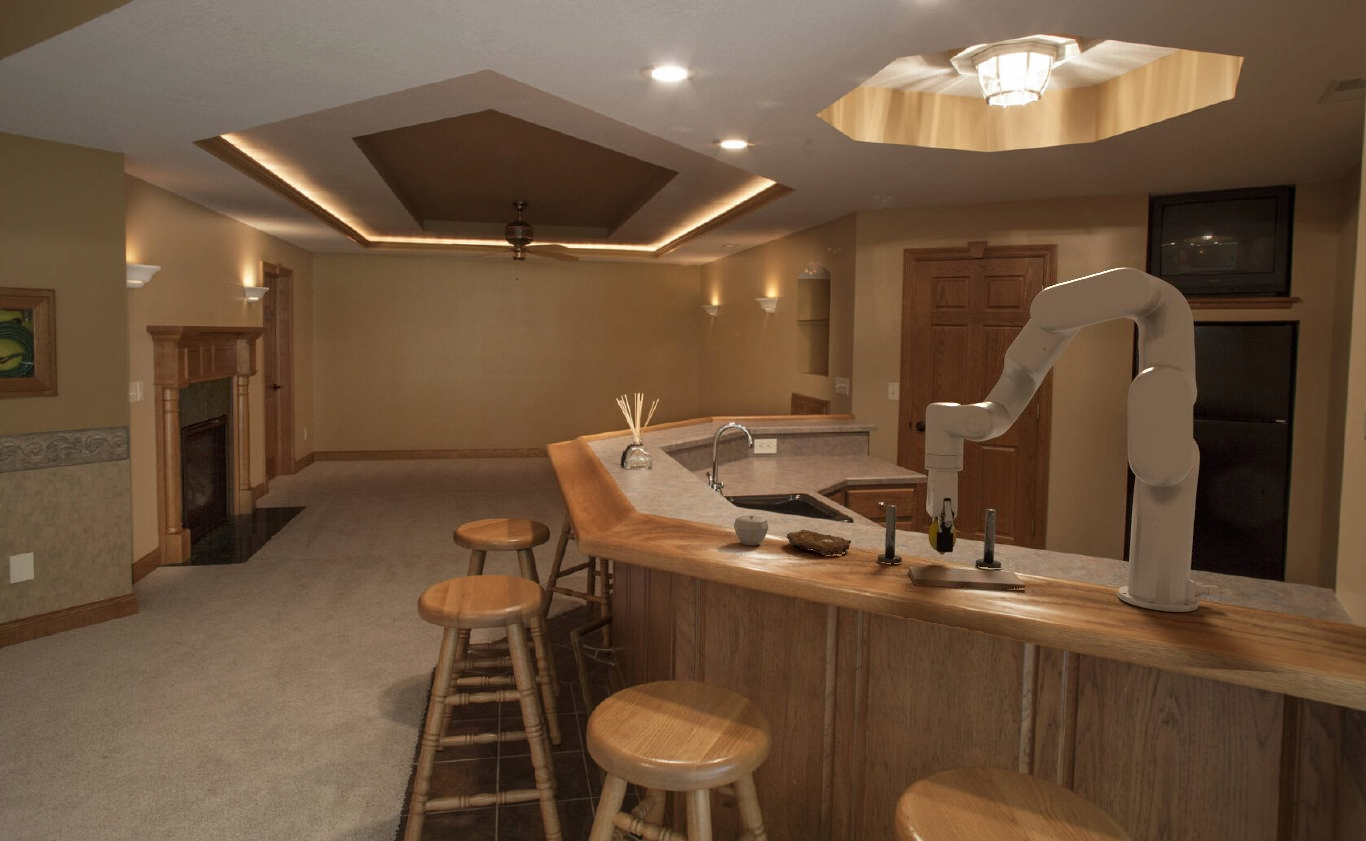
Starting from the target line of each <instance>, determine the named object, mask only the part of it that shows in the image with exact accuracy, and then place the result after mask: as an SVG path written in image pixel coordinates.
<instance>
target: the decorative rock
mask: <svg viewBox="0 0 1366 841" xmlns="http://www.w3.org/2000/svg"><path fill="white" fill-rule="evenodd" d="M786 538H787V539H788V540H787V541H789V542H788V543H789V544H790V545H791V544H792V545H791V546H793V545H794V546H797V547H799V549H800V550H802V549H803V550H804V549H805V550H808V549H813V550H815V551H816V553H817V552H819V553H818V554H820V553H821V554H820V555H822V556H823V555H824V556H826V555H833V554H842V552H846V551H848V550H849V549H850V547H851V545H850V544H851V543H852V540H851V539H849V540H848V539H845V538H844V537H843V536H842V537H841V536H834V535H831V534H824V533H819V532H817V531H811V530H809V529H801V530H800V531H794V532H792V531H791V532H789V533H787V535H786ZM805 550H804V551H805ZM815 551H814V552H815ZM842 555H843V554H842ZM824 556H823V557H824ZM826 557H827V556H826Z"/></svg>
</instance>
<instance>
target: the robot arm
mask: <svg viewBox="0 0 1366 841" xmlns="http://www.w3.org/2000/svg"><path fill="white" fill-rule="evenodd" d="M1029 308H1030V309H1029V315H1030V318H1029V320H1027V323H1026V324H1025V325H1024V327H1023V328H1022V329H1021V331H1020V332H1019V334H1018V335H1017V336H1016V338H1015V339H1014V340H1013V342H1012V343H1011V344H1010V345H1009V347H1008V349H1007V350H1006V351H1005V354H1004V355H1005V356H1004V362H1003V364H1004V366H1003V370H1002V374H1001V375H1000V378H999V379H998V381H997V383H996V384H995V385H994V386H993V388H992V389H991V391H990V393H989V394H988V395H987V396H986V397H985V399H983V401H982V402H979V403H972V404H962V405H961V404H960V403H956V402H932V403H929V404H928V405H927V407H926V409H925V437H924V438H925V441H924V443H925V445H924V446H925V447H924V450H925V451H924V452H925V453H924V470H927V471H928V473H927V475H928V476H927V486H926V487H927V489H926V506H925V509H926V512H927V513H928V515H929V516H930V517H931V518H932V523H933V522H934V521H935V520H937V519H938V532H937V546H936V550H937V552H938V553H939V552H946V553H953V552H954V547H953V525H954V523H953V522H954V520H955V519H956V518H957V516H958V499H959V493H958V492H959V491H958V490H959V489H958V487H959V486H958V484H959V483H958V482H959V480H958V479H959V478H958V472H961V471H964V441H965V440H967V441H972V442H984V441H988V440H991V439H995V438H998V437H1000V436H1002V435H1004V434H1005V433H1006V432H1007V431H1008V430H1010V428H1011V427H1012V425H1013V424H1014V423H1015V422H1016V420H1017V419H1018V418H1019V417H1020V415H1021V414H1022V413H1023V412H1024V410H1025V409H1026V407H1027V406H1028V404H1029V403H1030V401H1031V400H1032V399H1033V397H1034V395H1035V393H1036V392H1037V390H1038V389H1039V388H1040V386H1041V385H1042V383H1043V381H1044V379H1045V377H1046V376H1047V374H1048V372H1049V371H1050V370H1051V369H1052V367H1053V366H1054V365H1055V363H1056V362H1057V361H1058V360H1059V358H1060V357H1061V356H1062V355H1063V353H1064V352H1065V351H1066V349H1067V348H1068V346H1069V345H1070V344H1071V342H1072V341H1073V340H1074V339H1075V338H1076V336H1077V334H1078V333H1080V330H1081V329H1082V328H1083V327H1087V326H1088V327H1089V326H1091V325H1096V324H1101V323H1105V322H1108V321H1112V320H1117V319H1122V318H1123V319H1130V320H1133V321H1134V322H1135V323H1136V325H1137V328H1138V374H1137V375H1136V376H1135V378H1134V379H1133V380H1132V382H1131V384H1130V386H1129V390H1128V393H1127V394H1128V395H1127V458H1128V459H1127V460H1128V463H1129V467H1130V469H1131V471H1132V473H1133V474H1134V475H1135V480H1134V488H1133V498H1132V513H1131V526H1130V527H1131V528H1130V545H1129V558H1128V559H1129V560H1128V561H1129V562H1128V571H1127V572H1128V575H1127V576H1128V577H1127V585H1124V586H1121V587H1119V588H1118V589H1117V593H1116V594H1117V598H1118V599H1120V600H1121V601H1123V602H1125V603H1128V604H1130V605H1132V606H1136V607H1140V608H1142V609H1143V608H1144V609H1147V610H1154V611H1158V612H1159V611H1160V612H1161V611H1162V612H1172V613H1186V612H1187V613H1188V612H1192V611H1196V610H1197V609H1198V608H1199V599H1197V598H1199V597H1200V596H1206V597H1219V596H1220V590H1221V589H1220V587H1219V585H1214V584H1213V585H1209V584H1205V583H1203V582H1195V580H1192V579H1191V570H1192V568H1191V566H1192V555H1193V552H1192V550H1193V538H1194V537H1193V536H1194V525H1195V524H1194V523H1195V516H1196V515H1195V513H1196V512H1195V511H1196V501H1197V500H1196V499H1197V488H1198V481H1199V480H1198V479H1199V473H1200V472H1199V471H1200V458H1201V457H1200V456H1201V455H1200V454H1201V453H1200V450H1199V445H1198V444H1197V441H1196V440H1195V439H1194V405H1195V403H1196V402H1197V397H1198V387H1197V382H1196V381H1197V380H1196V349H1195V327H1194V316H1193V312H1192V309H1191V306H1190V304H1189V302H1188V300H1187V299H1186V298H1185V296H1184V295H1183V294H1182V292H1181V291H1180V290H1179V289H1178V288H1177V287H1176V286H1173V285H1172V284H1170V283H1169V282H1167V281H1165V280H1163V279H1161V278H1159V277H1157V276H1154V275H1151V274H1149V273H1147V272H1146V271H1145V272H1144V271H1143V270H1140V269H1137V268H1134V267H1120V268H1119V267H1118V268H1114V269H1109V270H1107V271H1103V272H1100V273H1096V274H1092V275H1089V276H1085V277H1082V278H1077V279H1074V280H1071V281H1066V282H1062V283H1059V284H1055V285H1052V286H1048V287H1046V288H1044V289H1042V290H1041V291H1040V292H1039V293H1038V294H1037V295H1036V296H1034V298H1033V300H1032V302H1031V305H1030V307H1029ZM942 521H944V522H943V523H942ZM932 523H931V524H932ZM936 550H935V551H936Z"/></svg>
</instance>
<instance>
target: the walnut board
mask: <svg viewBox="0 0 1366 841" xmlns="http://www.w3.org/2000/svg"><path fill="white" fill-rule="evenodd" d="M908 574H909V575H910V578H911V580H912V582H913V584H914V585H915V586H925V587H926V586H927V587H928V586H929V587H944V588H965V589H986V590H999V589H1014V588H1015V589H1017V588H1018V589H1019V588H1025V589H1026V584H1025V583H1024V582H1023V580H1021V579H1020V577H1018V576H1017V574H1016V573H1015V572H1014V571H1007V570H1006V571H1005V570H985V569H969V568H965V569H964V568H950V567H949V568H947V567H931V566H930V567H928V566H910V565H909V566H908Z"/></svg>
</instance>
